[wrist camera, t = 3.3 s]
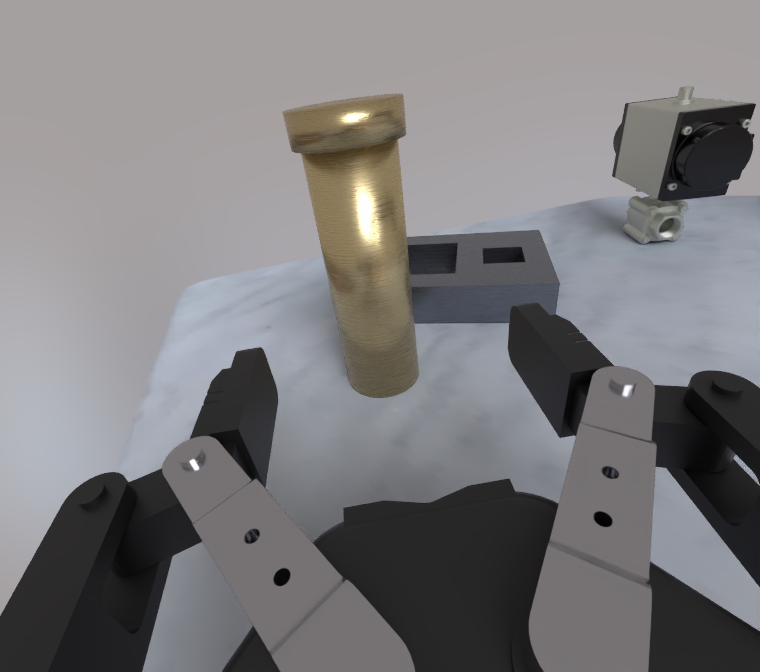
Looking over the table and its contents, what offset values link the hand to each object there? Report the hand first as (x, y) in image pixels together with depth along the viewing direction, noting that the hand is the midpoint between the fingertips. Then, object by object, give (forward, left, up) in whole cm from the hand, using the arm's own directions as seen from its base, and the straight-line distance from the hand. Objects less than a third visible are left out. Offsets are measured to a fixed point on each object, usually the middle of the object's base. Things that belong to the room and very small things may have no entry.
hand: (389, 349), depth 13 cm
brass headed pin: (+3, -9, -8) cm, 13 cm away
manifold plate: (-1, -20, -8) cm, 22 cm away
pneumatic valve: (-19, -30, -9) cm, 37 cm away
